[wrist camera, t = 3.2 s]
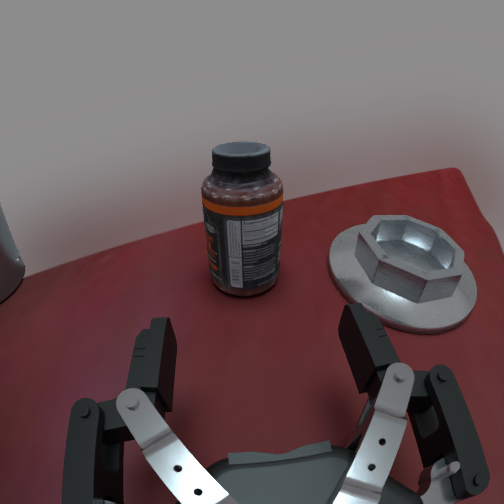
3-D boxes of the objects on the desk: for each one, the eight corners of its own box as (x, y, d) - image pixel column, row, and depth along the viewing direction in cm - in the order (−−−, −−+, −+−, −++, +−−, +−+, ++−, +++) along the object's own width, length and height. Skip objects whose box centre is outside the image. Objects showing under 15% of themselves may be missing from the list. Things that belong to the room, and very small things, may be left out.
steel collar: (464, 362, 16) (486, 331, 14) (295, 283, 24) (299, 248, 22) (474, 262, 26) (484, 237, 24) (361, 217, 34) (366, 192, 32)
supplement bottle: (206, 262, 27) (193, 142, 20) (266, 252, 28) (267, 136, 22) (217, 306, 22) (203, 162, 16) (289, 291, 23) (299, 154, 17)
